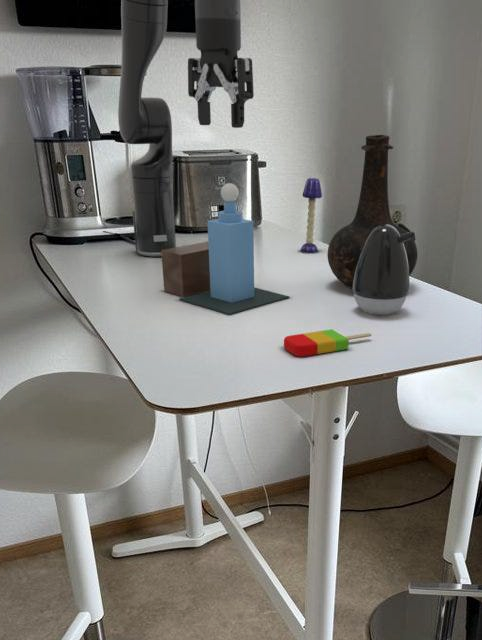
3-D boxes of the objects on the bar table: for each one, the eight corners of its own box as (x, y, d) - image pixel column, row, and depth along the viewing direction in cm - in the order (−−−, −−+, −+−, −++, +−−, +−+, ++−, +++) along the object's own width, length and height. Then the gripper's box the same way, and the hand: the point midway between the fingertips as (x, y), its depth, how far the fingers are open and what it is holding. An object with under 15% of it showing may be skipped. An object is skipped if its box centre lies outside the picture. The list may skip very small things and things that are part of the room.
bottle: (249, 308, 137) (286, 225, 123) (226, 314, 133) (262, 230, 119) (207, 263, 141) (239, 178, 127) (184, 268, 137) (214, 180, 123)
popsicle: (280, 347, 110) (281, 336, 109) (361, 334, 116) (362, 323, 115) (296, 358, 106) (297, 346, 105) (379, 344, 112) (380, 333, 111)
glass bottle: (425, 296, 137) (443, 138, 123) (337, 299, 134) (345, 138, 121) (398, 274, 152) (410, 132, 138) (318, 277, 150) (323, 132, 136)
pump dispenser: (401, 322, 122) (410, 231, 115) (344, 315, 125) (349, 227, 118) (413, 306, 131) (421, 221, 123) (359, 301, 134) (364, 217, 126)
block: (164, 291, 139) (160, 250, 135) (208, 280, 147) (207, 241, 143) (183, 296, 136) (180, 254, 132) (228, 285, 143) (227, 245, 139)
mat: (179, 300, 134) (179, 298, 134) (239, 285, 144) (239, 283, 144) (229, 315, 125) (229, 313, 125) (289, 297, 136) (289, 296, 135)
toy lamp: (320, 249, 174) (323, 177, 166) (319, 253, 170) (322, 180, 162) (301, 249, 175) (302, 177, 166) (299, 253, 171) (301, 179, 162)
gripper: (264, 17, 114) (264, 127, 122) (206, 20, 122) (209, 123, 131) (230, 14, 109) (232, 129, 117) (173, 17, 118) (178, 124, 126)
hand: (220, 126), depth 124 cm, fingers open, 8 cm apart
